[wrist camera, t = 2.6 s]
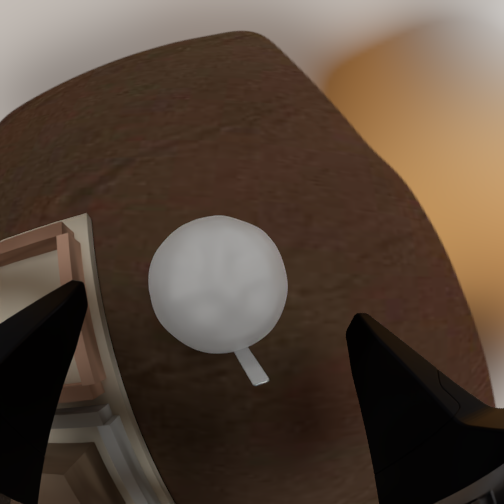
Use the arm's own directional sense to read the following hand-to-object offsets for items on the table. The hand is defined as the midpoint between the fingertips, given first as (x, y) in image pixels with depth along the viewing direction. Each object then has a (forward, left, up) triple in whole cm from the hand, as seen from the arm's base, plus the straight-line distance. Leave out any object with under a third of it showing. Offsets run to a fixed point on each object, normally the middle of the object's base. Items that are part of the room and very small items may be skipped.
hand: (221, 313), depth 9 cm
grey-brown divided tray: (-9, +8, -8) cm, 15 cm away
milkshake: (+1, 0, -9) cm, 9 cm away
